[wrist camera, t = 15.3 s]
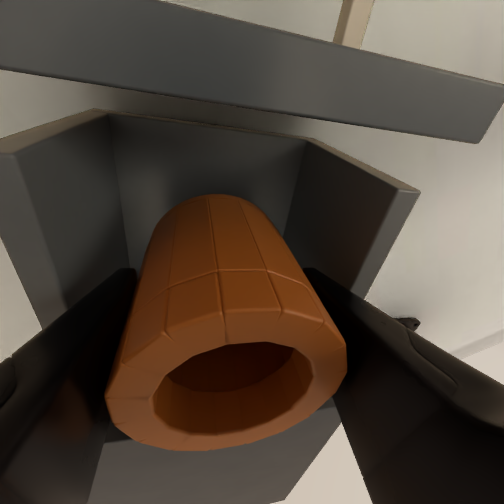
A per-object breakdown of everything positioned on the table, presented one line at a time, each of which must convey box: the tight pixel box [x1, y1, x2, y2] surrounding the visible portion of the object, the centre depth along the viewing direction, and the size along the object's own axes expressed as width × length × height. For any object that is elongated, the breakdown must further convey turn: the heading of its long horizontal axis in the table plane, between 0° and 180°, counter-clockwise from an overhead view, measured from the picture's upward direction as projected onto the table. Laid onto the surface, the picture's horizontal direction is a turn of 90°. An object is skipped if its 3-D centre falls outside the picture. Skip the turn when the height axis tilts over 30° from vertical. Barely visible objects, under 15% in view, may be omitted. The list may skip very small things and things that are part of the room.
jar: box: [104, 194, 347, 451], centre depth 8 cm, size 5×5×6 cm
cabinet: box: [87, 396, 341, 504], centre depth 18 cm, size 15×13×10 cm
